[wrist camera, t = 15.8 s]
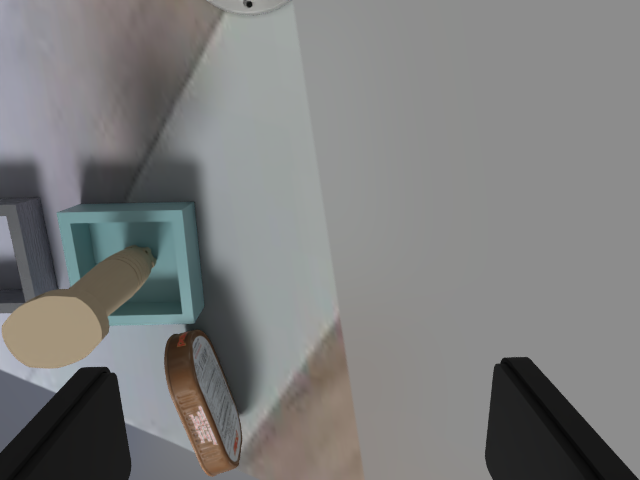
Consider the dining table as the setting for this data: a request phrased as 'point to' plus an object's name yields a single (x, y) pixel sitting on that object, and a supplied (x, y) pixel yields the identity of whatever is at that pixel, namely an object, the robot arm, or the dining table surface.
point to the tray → (144, 231)
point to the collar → (27, 251)
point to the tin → (203, 401)
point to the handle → (76, 312)
